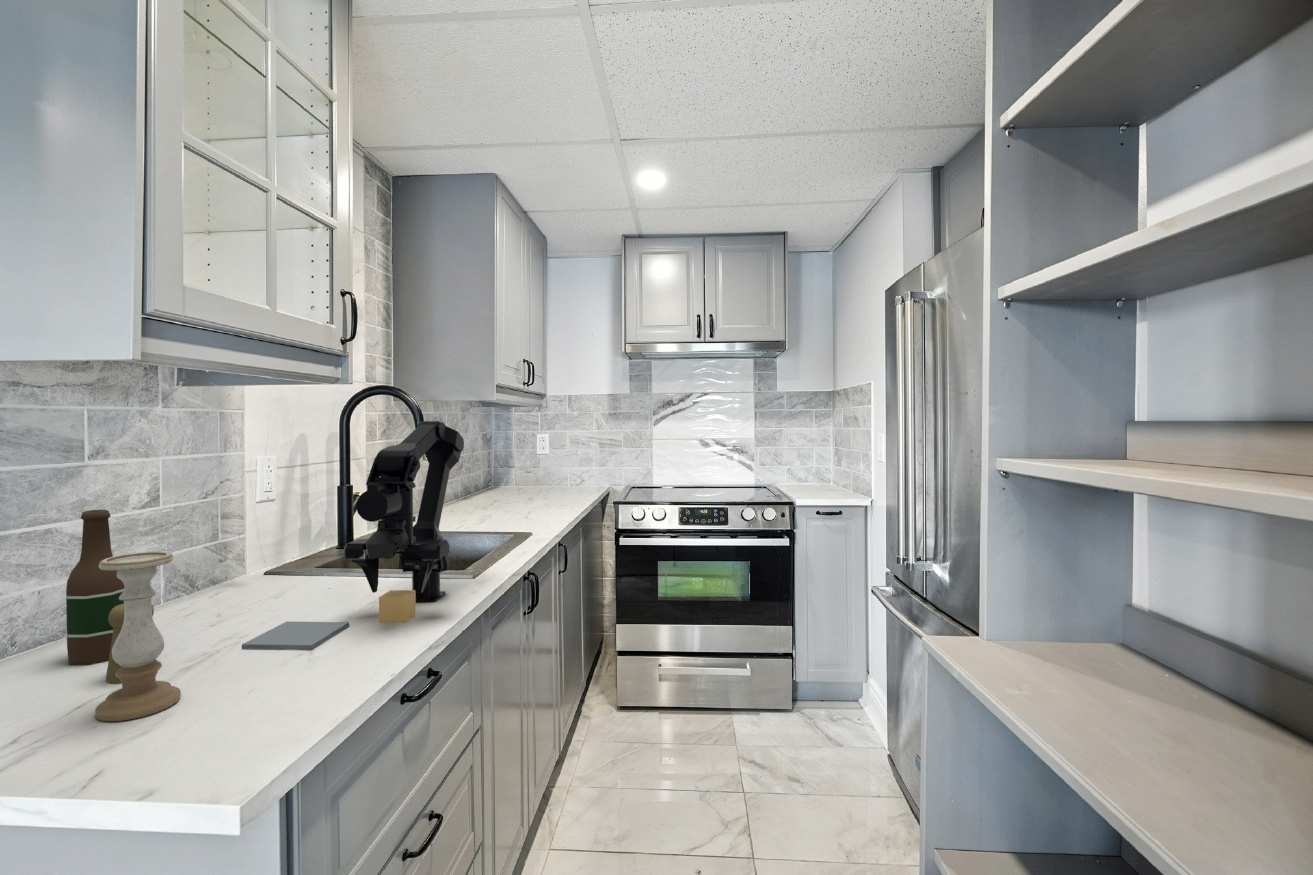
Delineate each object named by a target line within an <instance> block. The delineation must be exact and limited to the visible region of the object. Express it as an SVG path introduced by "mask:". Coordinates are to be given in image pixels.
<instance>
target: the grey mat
mask: <svg viewBox="0 0 1313 875" xmlns="http://www.w3.org/2000/svg"><path fill="white" fill-rule="evenodd" d="M349 627H350V622H349V621H290V620H289V621H284V622H282V623H280V624H279V625H277V626H275V627H273V628H271V629H269V630H267V631H265V632H263V633H261V634H260V635H257V636H256V637H254V638H252V639H250V640H248V641H246V642H244V643H242V644H241V649H242V650H282V649H300V651H302V650H303V649H306V650H305V651H308V650H309V651H311V650H314V649H315V648H317V647H319V646H320V645H322V644H323V643H325V642H327V641H328V640H329V639H331V638H333V637H334V636H336V635H338V634H339V633H341V632H342V631H344V630H345V629H348V628H349ZM303 651H304V650H303Z"/></svg>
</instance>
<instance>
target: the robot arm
mask: <svg viewBox="0 0 1313 875" xmlns="http://www.w3.org/2000/svg"><path fill="white" fill-rule="evenodd" d="M464 448H465V441H464V437H463V436H462V435H461V434H460V432H459V430H456V429H453V428H451V427H449V426H447V425H446V424H445V423H444V422H443V421H439V420H423V421H421V422H418V424H417V427H416V428H415V429H414V430H413V431H412V432H411V433H410V434H409V435H408V436H407V437H405V439H403V440H402V441H401V442H399V443H398V444H395V445H389V446H387V447H384V448H382V449H381V450H379V451H378V452H377V454H376V455H375V458H374V460H373V462H372V466H371V468H370V471H369V474H368V476H367V480H366V483H365V485H366V490H365V491H364V492H361V494H360V495H359V497H358V498H357V501H356V504H355V506H356V511H357V514H358V516H360V518H361V519H362V520H364V521H366V522H371V523H373V522H377V529H376V532H373V533H372V534H371V535H370V537H369V538H359V539H355V540H353V541H350V542H348V543H346V544H345V546H344V548H343V559H350V562H351V563H353V564H356V565H357V566H359V567H360V568H361V570H362V573H363V574H364V576H365V578H366V580H367V582H368V585H369V588H370V590H371V592H372V593H373V594H374V593H377V592H378V587H379V567H380V565H379V564H380V563H379V562H380V559H384V560H389V559H393V558H394V557H395V556H396V554H397V555H398V554H399V558H400V563H401V564H400V565H401V568H402V572H403V573H406V572H407V573H409V572H411V574H412V575H411V579H412V580H411V584H412V585H411V590H416V602H437V601H439V599H440V598H442V597H444V596H445V594H446V593H447V591H442V590H441V573H442V572H447V571H449V567H450V566H449V565H450V556H449V554H450V543H449V542H448V540H447V539H444V538H443V534H442V533H441V530H440V529H439V527H440V525H441V524H440V523H441V518H442V512H443V508H444V502H445V498H446V497H445V496H446V493H447V487H448V482H449V477H450V472H451V469H453V468H454V467H455V466H456V464H458V462H459V461H460V459H461V455H462V452H463V451H464ZM424 455H425V457H426V460H427V462H428V467H427V472H426V477H425V482H424V486H423V491H422V495H421V500H420V504H419V509H418V510H419V511H418V514H417V517H416V516H414V491H413V489H415V488H416V486H417V485H416V483H415V482H414V481H415V480H416V477H417V475H418V472H419V470H420V469H421V462H420V460H421V458H422V457H423V456H424ZM416 518H417V519H416ZM414 522H416V523H415V524H414Z"/></svg>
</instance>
